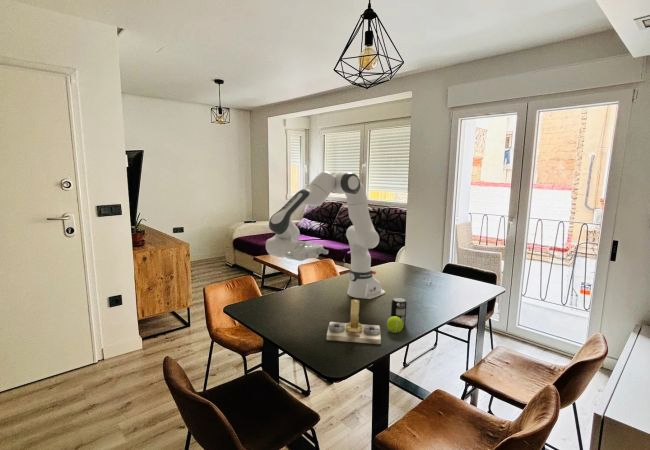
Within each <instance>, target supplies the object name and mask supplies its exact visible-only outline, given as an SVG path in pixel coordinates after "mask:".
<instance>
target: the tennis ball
mask: <svg viewBox="0 0 650 450" xmlns="http://www.w3.org/2000/svg"><path fill="white" fill-rule="evenodd" d="M386 327H387V329H388V331H389V332H391V333H394V334H398V333H400V332H401V331H402V330H403V328H404V326H403V321H402V320H401V319H400V318H399V317H397V316H392V317H391V316H390V317H389V318H388V319H387V322H386Z"/></svg>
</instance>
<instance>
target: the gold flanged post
mask: <svg viewBox="0 0 650 450" xmlns="http://www.w3.org/2000/svg"><path fill="white" fill-rule="evenodd" d="M359 314H360V299H357V298H356V299H351V300H350V321H349V322H350V323H349V322H348V323H349V324H347V325H346V331H347V332H348V333H361V332H362V325H360V324H361V323H360V324H358V323H359V318H360V317H359V316H360V315H359Z"/></svg>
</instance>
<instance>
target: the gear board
mask: <svg viewBox="0 0 650 450" xmlns="http://www.w3.org/2000/svg"><path fill="white" fill-rule="evenodd" d="M349 323H350V321H348V322H336V321H330V322H329V324H328V328H327V332H326V340H327V341H336V342H337V341H338V342H350V343H351V342H352V343H360V344H361V343H363V344H375V345H381V344H382V337H381V327H380V326H381V325H378V324H377V325H376V324H365V323H364V324H362V323H361V322H358V324H360V325H362V332H361V333H348V332H347V331H346V325H347V324H349Z"/></svg>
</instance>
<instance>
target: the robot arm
mask: <svg viewBox="0 0 650 450" xmlns="http://www.w3.org/2000/svg"><path fill="white" fill-rule="evenodd" d="M365 189H366V188H365V187H364V185H363V183H362V182H360V179H359V176H358V175H357V174H356V173H354V172H351V171H350V172H344V171H341V172H333V173H331V172H329V171H326V170H325V171H324V170H323V171H321V172H320V173H319V174H318V175H317V176H315V178H314V179H313V180H312V181H311V182H310V184H309V185H308V186H307V187H306V188H304V189H303V188H302V189H300V190H298V192H296V193H295V194H294V195H293V196H292V197H291V198H290V199H289V200H288V201H287V202H286V203H285V204H284V205H283V206H282V207H281V208H280V209H279V210H277V211H276V212H274V214H272V216H271V217H269V221H268V227H269V230H271V231H272V232H273V233H274V234H275V235H273V236H272V237H271V238H268V239H267V240H265V241H266V242H265V250H266V252H267V254H269V255H270V256H274V257H277V258H286V259H289V260H294V261H299V262H300V261H301V262H303V261H306V260H308V259H318V258H319V255H320V254H322V255H328V254H329V249H325V248H324V245H322V244H319V243H314V242H309V240H299V238H300V234H301V232H300V229H299V227H298V226H297V225H296V224H295V223H294V221H292V217H293V215H294V214H295V213H296V212H297V211H298V210H299V209H300V208H301V207H302V206H304V205H307V206H309V207H312V208H313V207H315V208H316V207H320V206H321V205H323V204H324V202H325V201H326V200H327V198H328V197H329V196H330V194H331V193H332V194H339V195H340V194H341V195H342V194H344V195H345V198H346V204H347V211H348V218H349V221H351V223H352V225H350V226H349V227H348V228H347V229H346V233H345V236H346V238H347V240H348V244H349V250H350V258H351V259H350V269H349V284H348V289H347V291H346V292H347V293H346V294H347V295H348V296H349V297H353V298H356V299H365V300H366V299H367V300H371V299H374V298H377V297H379V296H381V295H385V294H386V291H385V290H384V289H382V284H381V282H380V281H379V280H378V279H376V277H374V275H376V274H377V271H376V270H373V269H372V270H371V265H372V264H371V263H372V257H371V254H370V252H369V249H374V248H376V247H377V246H378V245H379V243H380V235H379V233H378V232H377V231H376V229H375V226H374V225H373V222H372V218H371V216H370V210H369V209H370V208H369V203H368V202H369V201H368V198H367V194H366V190H365Z"/></svg>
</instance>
